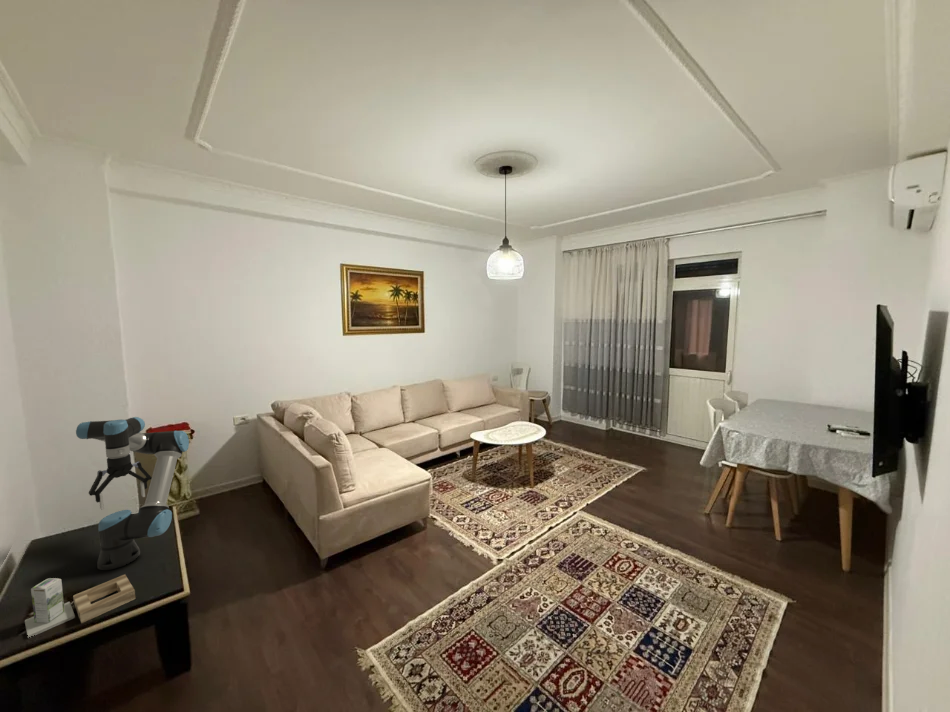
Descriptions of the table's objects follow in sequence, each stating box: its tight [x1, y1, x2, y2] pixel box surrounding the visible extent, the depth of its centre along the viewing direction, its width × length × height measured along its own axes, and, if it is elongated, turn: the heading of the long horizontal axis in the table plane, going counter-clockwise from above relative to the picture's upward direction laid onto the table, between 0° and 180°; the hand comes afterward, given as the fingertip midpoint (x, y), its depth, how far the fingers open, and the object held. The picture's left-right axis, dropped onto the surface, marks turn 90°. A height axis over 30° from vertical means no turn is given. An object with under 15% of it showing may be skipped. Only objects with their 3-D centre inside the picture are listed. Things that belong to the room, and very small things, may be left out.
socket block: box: [72, 574, 136, 624], centre depth 157 cm, size 16×16×4 cm
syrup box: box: [30, 577, 65, 623], centre depth 147 cm, size 6×6×14 cm
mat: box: [24, 601, 76, 639], centre depth 148 cm, size 12×12×1 cm
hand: (123, 502), depth 166 cm, fingers open, 13 cm apart
